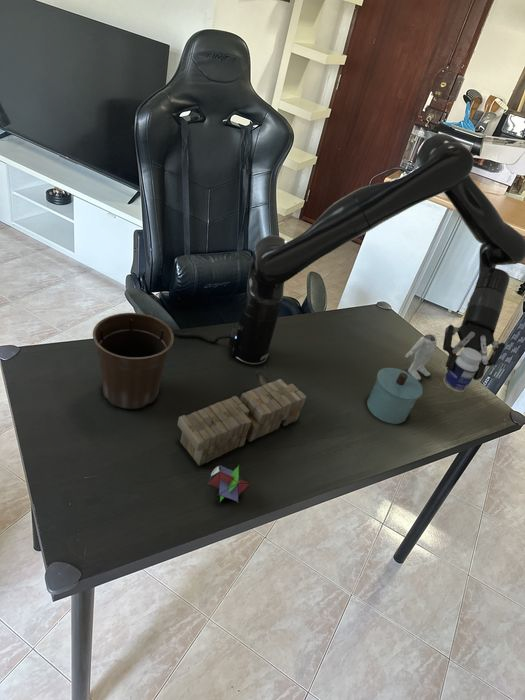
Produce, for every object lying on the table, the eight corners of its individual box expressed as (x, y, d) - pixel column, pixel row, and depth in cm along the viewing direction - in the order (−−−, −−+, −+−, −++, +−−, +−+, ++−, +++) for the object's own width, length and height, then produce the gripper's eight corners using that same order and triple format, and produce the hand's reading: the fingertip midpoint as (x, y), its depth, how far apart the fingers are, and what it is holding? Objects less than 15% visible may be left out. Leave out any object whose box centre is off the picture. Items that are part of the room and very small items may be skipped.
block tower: (276, 402, 118) (172, 443, 100) (285, 376, 114) (177, 413, 96) (297, 423, 114) (192, 469, 96) (307, 397, 109) (199, 440, 91)
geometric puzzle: (255, 476, 95) (237, 451, 91) (255, 505, 90) (236, 480, 86) (223, 486, 97) (203, 462, 93) (221, 516, 92) (200, 491, 87)
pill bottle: (439, 376, 121) (456, 344, 115) (459, 378, 122) (478, 347, 116) (447, 391, 116) (466, 359, 111) (469, 394, 118) (488, 362, 112)
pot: (368, 420, 120) (384, 385, 113) (362, 390, 129) (377, 356, 122) (412, 429, 120) (431, 395, 114) (404, 398, 130) (421, 365, 123)
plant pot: (89, 416, 101) (89, 356, 92) (94, 367, 114) (95, 309, 105) (167, 417, 106) (175, 360, 97) (164, 369, 118) (171, 314, 109)
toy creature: (411, 384, 136) (428, 350, 129) (395, 371, 139) (411, 337, 133) (436, 374, 143) (454, 341, 136) (420, 361, 146) (437, 329, 139)
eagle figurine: (287, 390, 120) (255, 372, 120) (293, 383, 113) (259, 364, 114) (273, 417, 117) (240, 399, 118) (278, 411, 111) (244, 392, 111)
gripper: (459, 296, 115) (437, 361, 112) (520, 316, 113) (499, 383, 110) (449, 305, 122) (429, 366, 120) (506, 324, 120) (486, 387, 118)
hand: (462, 374), depth 115 cm, fingers closed on pill bottle, 5 cm apart
